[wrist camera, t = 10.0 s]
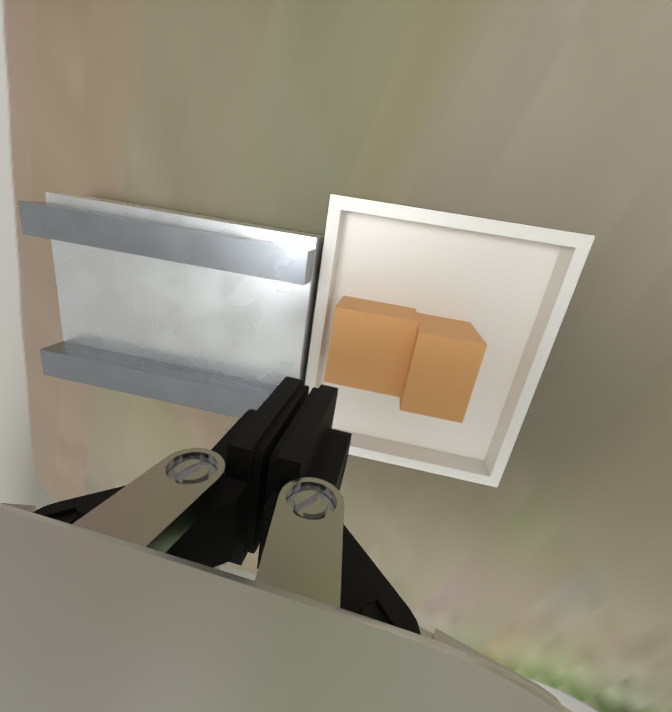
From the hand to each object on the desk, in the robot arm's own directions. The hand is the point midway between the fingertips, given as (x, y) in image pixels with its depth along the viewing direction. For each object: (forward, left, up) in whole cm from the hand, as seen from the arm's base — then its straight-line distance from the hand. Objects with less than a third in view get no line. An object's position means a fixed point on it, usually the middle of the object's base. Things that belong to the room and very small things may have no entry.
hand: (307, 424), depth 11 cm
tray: (-3, -3, -11) cm, 11 cm away
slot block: (+6, +6, -11) cm, 14 cm away
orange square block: (-2, -2, -8) cm, 9 cm away
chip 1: (-1, -1, -10) cm, 10 cm away
